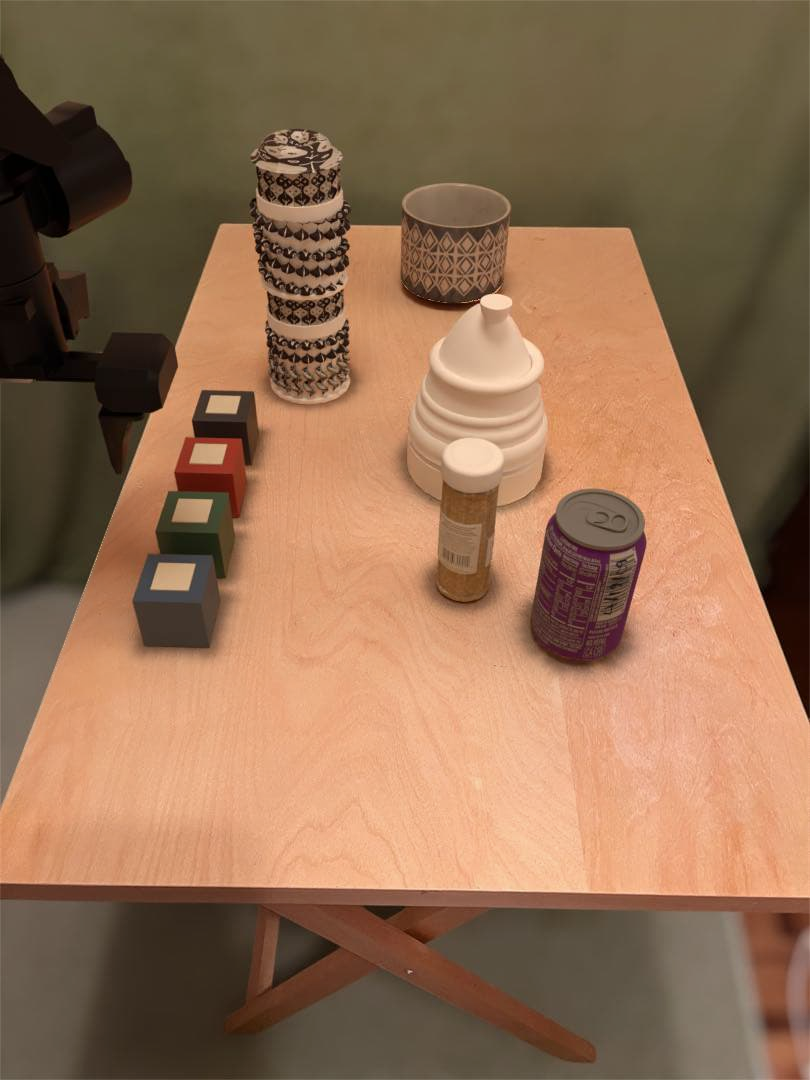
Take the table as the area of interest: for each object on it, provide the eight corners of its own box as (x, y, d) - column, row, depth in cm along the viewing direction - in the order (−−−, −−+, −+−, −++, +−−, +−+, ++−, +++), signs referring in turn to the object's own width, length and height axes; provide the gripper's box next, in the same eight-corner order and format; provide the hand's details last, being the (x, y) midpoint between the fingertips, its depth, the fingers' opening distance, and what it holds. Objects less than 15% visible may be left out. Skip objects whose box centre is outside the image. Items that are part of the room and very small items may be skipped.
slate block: (209, 647, 70) (200, 601, 66) (144, 646, 70) (131, 599, 66) (220, 600, 73) (212, 553, 70) (158, 598, 73) (147, 552, 70)
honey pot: (560, 498, 83) (591, 322, 71) (423, 516, 81) (431, 337, 69) (519, 418, 92) (540, 249, 80) (394, 431, 90) (397, 260, 78)
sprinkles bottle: (500, 585, 75) (518, 454, 66) (463, 613, 73) (475, 481, 64) (460, 556, 77) (471, 427, 68) (422, 583, 75) (428, 452, 66)
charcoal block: (251, 465, 86) (246, 420, 83) (198, 463, 86) (191, 419, 83) (258, 433, 90) (254, 389, 86) (208, 432, 90) (201, 388, 86)
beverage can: (627, 611, 73) (658, 497, 65) (612, 677, 68) (644, 562, 60) (540, 589, 75) (560, 475, 67) (519, 652, 70) (538, 536, 62)
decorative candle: (331, 415, 92) (321, 165, 75) (250, 394, 95) (223, 147, 78) (367, 370, 99) (366, 129, 82) (291, 352, 101) (273, 114, 84)
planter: (390, 268, 116) (390, 186, 109) (484, 259, 119) (491, 179, 111) (414, 317, 107) (417, 231, 100) (516, 306, 110) (526, 222, 102)
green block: (225, 578, 75) (218, 531, 72) (164, 576, 75) (154, 530, 72) (235, 536, 79) (228, 491, 75) (177, 535, 79) (167, 489, 75)
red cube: (239, 517, 81) (232, 472, 77) (182, 516, 81) (173, 470, 77) (247, 482, 84) (241, 437, 81) (193, 480, 84) (185, 435, 81)
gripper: (176, 215, 61) (206, 408, 72) (-102, 208, 61) (-31, 402, 72) (137, 295, 53) (177, 500, 64) (-183, 287, 53) (-90, 493, 64)
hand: (57, 469), depth 66 cm, fingers open, 9 cm apart
